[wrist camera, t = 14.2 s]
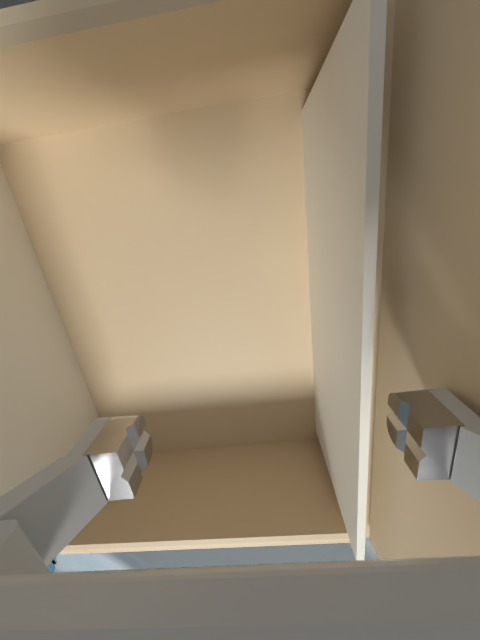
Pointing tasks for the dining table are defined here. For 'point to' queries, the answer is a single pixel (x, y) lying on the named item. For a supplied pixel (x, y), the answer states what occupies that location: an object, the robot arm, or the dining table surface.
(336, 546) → the dining table surface
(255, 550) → the dining table surface
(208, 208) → the carton
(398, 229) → the flap
